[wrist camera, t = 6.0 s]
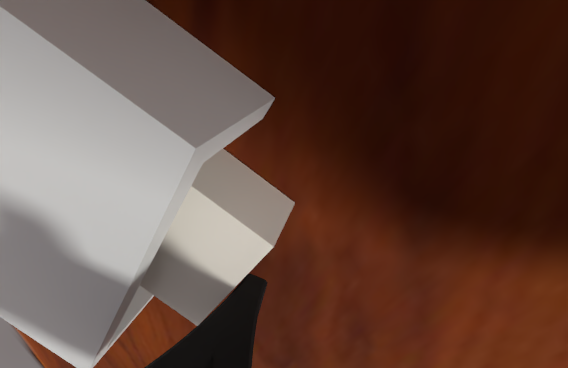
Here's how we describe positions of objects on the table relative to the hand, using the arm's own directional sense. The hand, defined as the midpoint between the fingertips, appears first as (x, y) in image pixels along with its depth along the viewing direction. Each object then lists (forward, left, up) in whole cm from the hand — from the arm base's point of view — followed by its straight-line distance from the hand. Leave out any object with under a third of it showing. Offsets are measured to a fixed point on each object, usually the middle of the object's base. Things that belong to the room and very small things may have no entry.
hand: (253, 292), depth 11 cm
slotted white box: (+8, 0, -1) cm, 8 cm away
